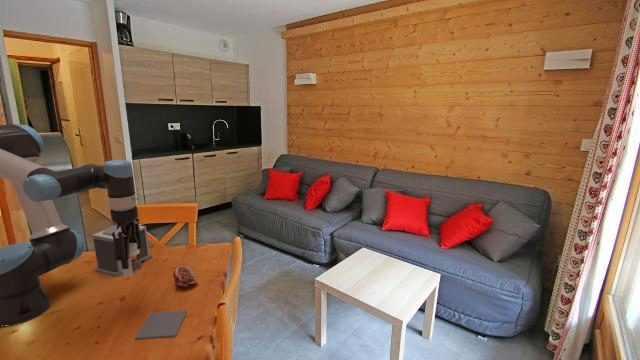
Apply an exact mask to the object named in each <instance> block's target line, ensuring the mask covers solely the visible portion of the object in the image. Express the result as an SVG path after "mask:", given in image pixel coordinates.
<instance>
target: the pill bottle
mask: <svg viewBox="0 0 640 360" xmlns="http://www.w3.org/2000/svg"><path fill="white" fill-rule="evenodd" d="M129 258H131V265H132V272H133V276H134V275H137V274H139V273H141V271H142V270H143V267H142V261H141V257H140V251H139V250H138V249H137V244H136V243H129Z"/></svg>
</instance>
